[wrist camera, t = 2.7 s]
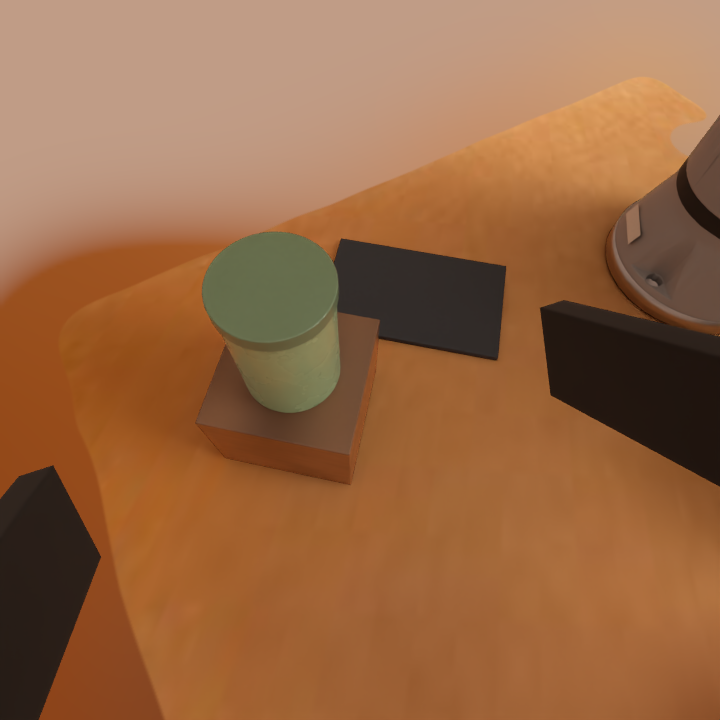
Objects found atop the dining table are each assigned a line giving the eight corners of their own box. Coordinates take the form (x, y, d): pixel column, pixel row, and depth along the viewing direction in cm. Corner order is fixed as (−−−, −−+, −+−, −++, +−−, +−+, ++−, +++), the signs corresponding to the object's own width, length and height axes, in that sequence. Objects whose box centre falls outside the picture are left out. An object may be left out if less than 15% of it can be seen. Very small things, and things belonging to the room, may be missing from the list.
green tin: (352, 335, 34) (351, 242, 25) (329, 424, 31) (319, 354, 22) (259, 317, 34) (227, 221, 26) (228, 404, 31) (180, 328, 23)
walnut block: (375, 369, 41) (380, 319, 34) (350, 485, 37) (349, 455, 30) (263, 347, 42) (244, 294, 35) (225, 458, 38) (194, 422, 31)
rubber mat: (504, 269, 46) (506, 266, 46) (496, 360, 42) (498, 358, 41) (341, 241, 48) (341, 238, 47) (316, 326, 43) (315, 324, 43)
